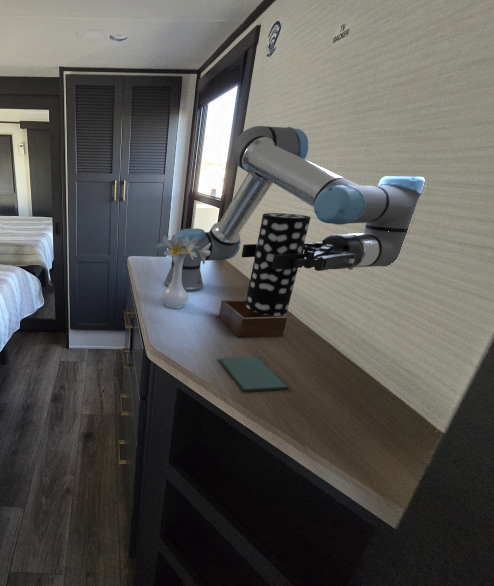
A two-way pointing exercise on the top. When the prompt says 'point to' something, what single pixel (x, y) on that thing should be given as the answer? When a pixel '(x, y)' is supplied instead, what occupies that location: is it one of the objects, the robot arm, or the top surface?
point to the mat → (252, 374)
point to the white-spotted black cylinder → (264, 280)
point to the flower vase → (179, 267)
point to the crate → (250, 320)
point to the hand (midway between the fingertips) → (257, 256)
